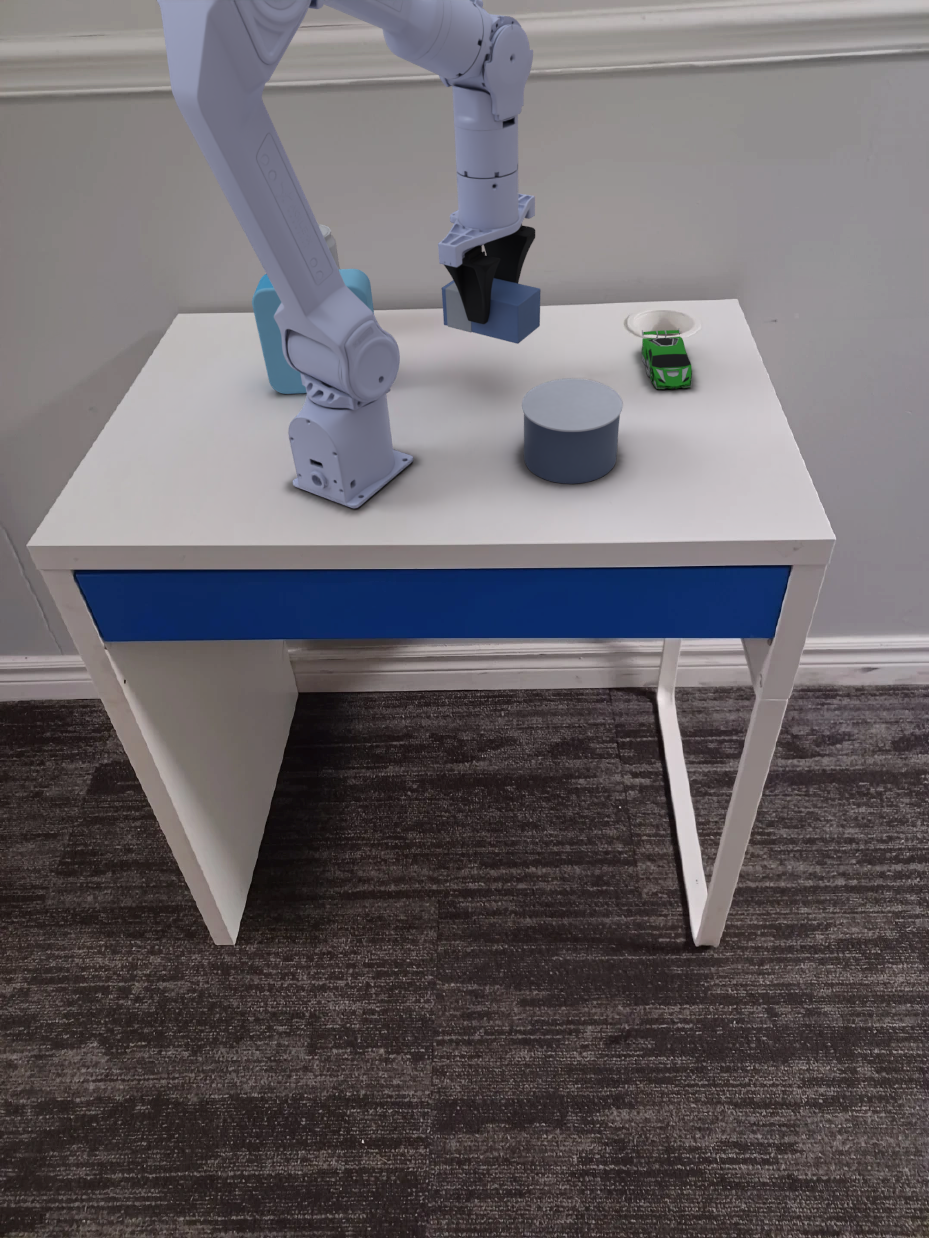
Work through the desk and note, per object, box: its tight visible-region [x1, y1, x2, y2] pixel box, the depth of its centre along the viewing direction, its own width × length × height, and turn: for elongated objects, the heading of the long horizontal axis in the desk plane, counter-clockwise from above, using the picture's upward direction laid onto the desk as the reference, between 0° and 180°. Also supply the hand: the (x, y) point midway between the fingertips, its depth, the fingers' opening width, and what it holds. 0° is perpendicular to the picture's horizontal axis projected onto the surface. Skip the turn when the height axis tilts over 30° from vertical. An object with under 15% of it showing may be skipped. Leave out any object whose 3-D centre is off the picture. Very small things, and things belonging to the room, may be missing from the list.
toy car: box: [641, 328, 693, 390], centre depth 98 cm, size 10×5×2 cm, turn 1°
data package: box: [251, 268, 375, 395], centre depth 96 cm, size 12×4×12 cm, turn 90°
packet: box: [441, 278, 542, 345], centre depth 91 cm, size 5×9×4 cm, turn 57°
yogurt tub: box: [521, 377, 624, 485], centre depth 85 cm, size 9×9×6 cm
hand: (491, 311), depth 91 cm, fingers closed on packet, 4 cm apart
